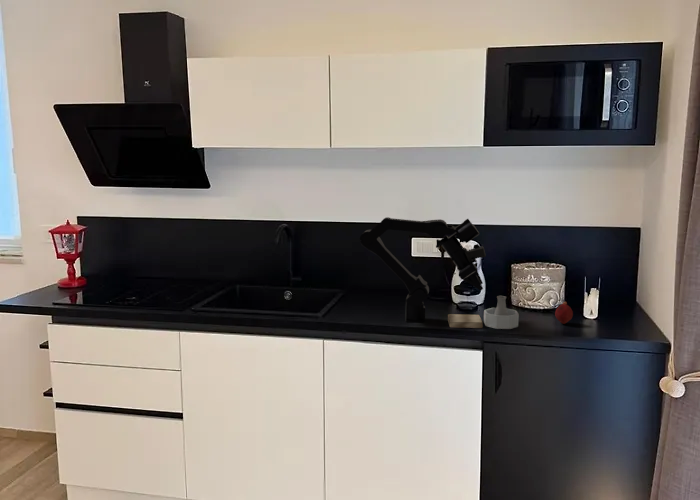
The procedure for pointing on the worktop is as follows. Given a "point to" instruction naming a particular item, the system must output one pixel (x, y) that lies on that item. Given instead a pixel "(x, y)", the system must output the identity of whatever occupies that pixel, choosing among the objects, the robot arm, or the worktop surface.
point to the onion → (564, 313)
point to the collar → (501, 319)
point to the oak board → (464, 321)
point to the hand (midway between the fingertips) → (481, 286)
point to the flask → (501, 307)
